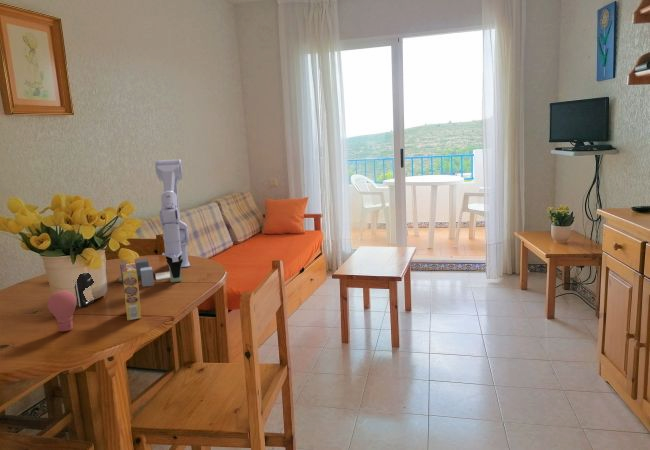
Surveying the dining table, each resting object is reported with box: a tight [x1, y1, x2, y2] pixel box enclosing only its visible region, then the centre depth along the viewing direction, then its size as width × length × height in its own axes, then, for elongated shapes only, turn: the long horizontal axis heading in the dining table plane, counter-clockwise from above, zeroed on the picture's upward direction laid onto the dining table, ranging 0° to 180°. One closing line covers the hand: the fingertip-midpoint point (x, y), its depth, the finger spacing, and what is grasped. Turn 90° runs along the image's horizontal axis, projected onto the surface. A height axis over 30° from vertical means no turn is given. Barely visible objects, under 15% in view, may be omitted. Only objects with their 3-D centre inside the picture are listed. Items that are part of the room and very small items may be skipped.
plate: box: [154, 270, 170, 281], centre depth 182 cm, size 8×8×1 cm
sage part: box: [168, 265, 183, 283], centre depth 176 cm, size 4×4×6 cm
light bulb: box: [47, 289, 77, 332], centre depth 132 cm, size 7×7×12 cm
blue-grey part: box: [140, 266, 155, 288], centre depth 172 cm, size 4×4×6 cm
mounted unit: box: [118, 258, 150, 284], centre depth 181 cm, size 7×12×6 cm, turn 112°
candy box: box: [121, 263, 142, 321], centre depth 142 cm, size 9×4×15 cm, turn 24°
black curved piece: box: [74, 273, 95, 308], centre depth 154 cm, size 7×4×11 cm, turn 178°
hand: (175, 275), depth 176 cm, fingers closed on sage part, 4 cm apart
